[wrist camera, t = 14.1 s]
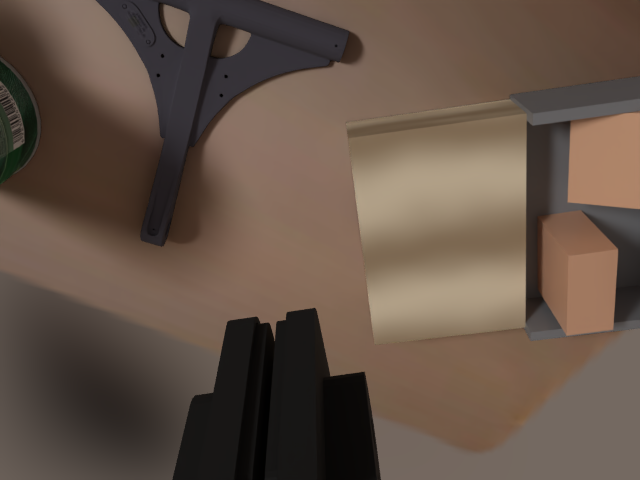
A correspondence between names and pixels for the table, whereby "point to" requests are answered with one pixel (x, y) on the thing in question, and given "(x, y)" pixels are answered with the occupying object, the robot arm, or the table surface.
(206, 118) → the bracket
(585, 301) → the tile
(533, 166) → the bus tub
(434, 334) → the board
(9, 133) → the canned tomato
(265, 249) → the table surface
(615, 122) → the tile
